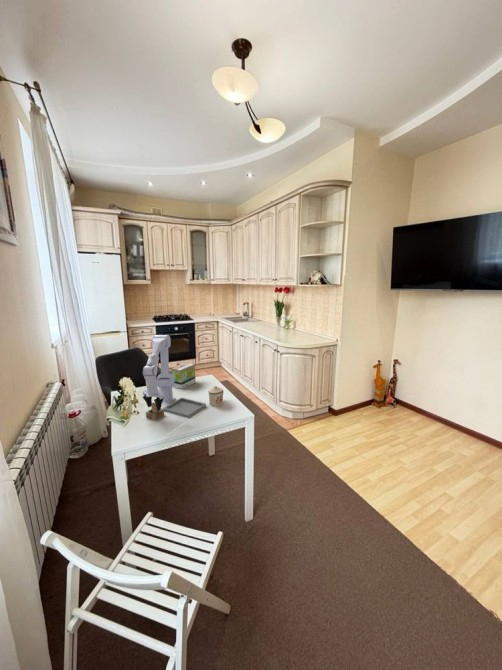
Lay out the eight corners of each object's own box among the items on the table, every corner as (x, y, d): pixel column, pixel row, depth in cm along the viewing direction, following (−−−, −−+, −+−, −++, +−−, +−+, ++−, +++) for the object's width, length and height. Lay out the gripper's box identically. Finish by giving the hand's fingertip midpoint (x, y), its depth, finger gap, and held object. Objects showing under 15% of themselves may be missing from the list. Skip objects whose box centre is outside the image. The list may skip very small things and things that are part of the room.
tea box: (182, 389, 193) (180, 370, 190) (172, 387, 198) (170, 368, 195) (196, 382, 206) (194, 364, 203) (186, 380, 211) (184, 362, 207)
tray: (163, 411, 162) (163, 408, 162) (181, 400, 176) (181, 397, 175) (188, 418, 153) (188, 415, 152) (206, 406, 166) (205, 403, 166)
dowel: (151, 416, 155) (150, 404, 153) (155, 414, 158) (154, 402, 156) (155, 418, 154) (153, 405, 152) (159, 415, 156) (157, 403, 154)
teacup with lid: (217, 407, 164) (216, 390, 162) (206, 404, 169) (204, 387, 167) (229, 400, 174) (228, 383, 172) (218, 397, 179) (217, 380, 176)
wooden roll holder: (146, 418, 154) (145, 412, 154) (156, 413, 160) (155, 406, 160) (155, 421, 151) (154, 414, 150) (164, 415, 157) (163, 409, 156)
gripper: (137, 386, 152) (140, 408, 154) (155, 390, 145) (157, 413, 148) (147, 382, 158) (149, 403, 160) (165, 386, 151) (167, 408, 154)
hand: (154, 408), depth 154 cm, fingers open, 7 cm apart
